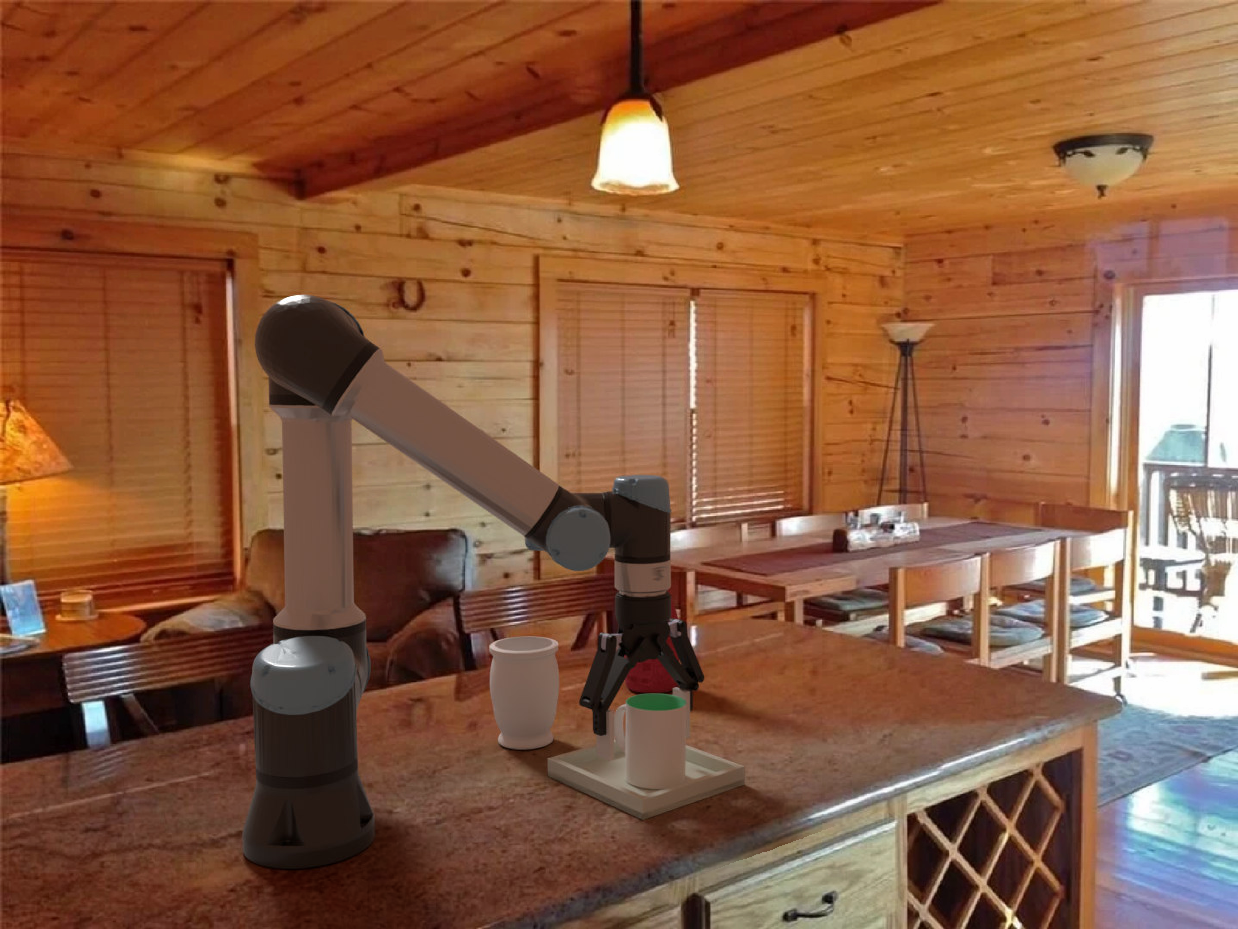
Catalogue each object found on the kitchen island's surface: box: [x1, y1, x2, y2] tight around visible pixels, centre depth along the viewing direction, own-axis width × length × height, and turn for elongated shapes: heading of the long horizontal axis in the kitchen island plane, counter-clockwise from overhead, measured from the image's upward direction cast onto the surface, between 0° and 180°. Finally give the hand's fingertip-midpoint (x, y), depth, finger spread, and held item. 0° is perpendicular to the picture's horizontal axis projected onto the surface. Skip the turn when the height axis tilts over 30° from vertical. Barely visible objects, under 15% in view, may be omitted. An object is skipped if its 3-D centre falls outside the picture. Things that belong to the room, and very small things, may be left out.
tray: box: [547, 739, 746, 821], centre depth 151 cm, size 18×20×2 cm
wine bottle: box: [624, 589, 680, 694], centre depth 194 cm, size 10×10×30 cm
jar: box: [488, 635, 560, 751], centre depth 167 cm, size 11×10×15 cm
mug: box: [614, 693, 687, 789], centre depth 150 cm, size 12×8×10 cm, turn 44°
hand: (644, 746), depth 151 cm, fingers open, 13 cm apart
